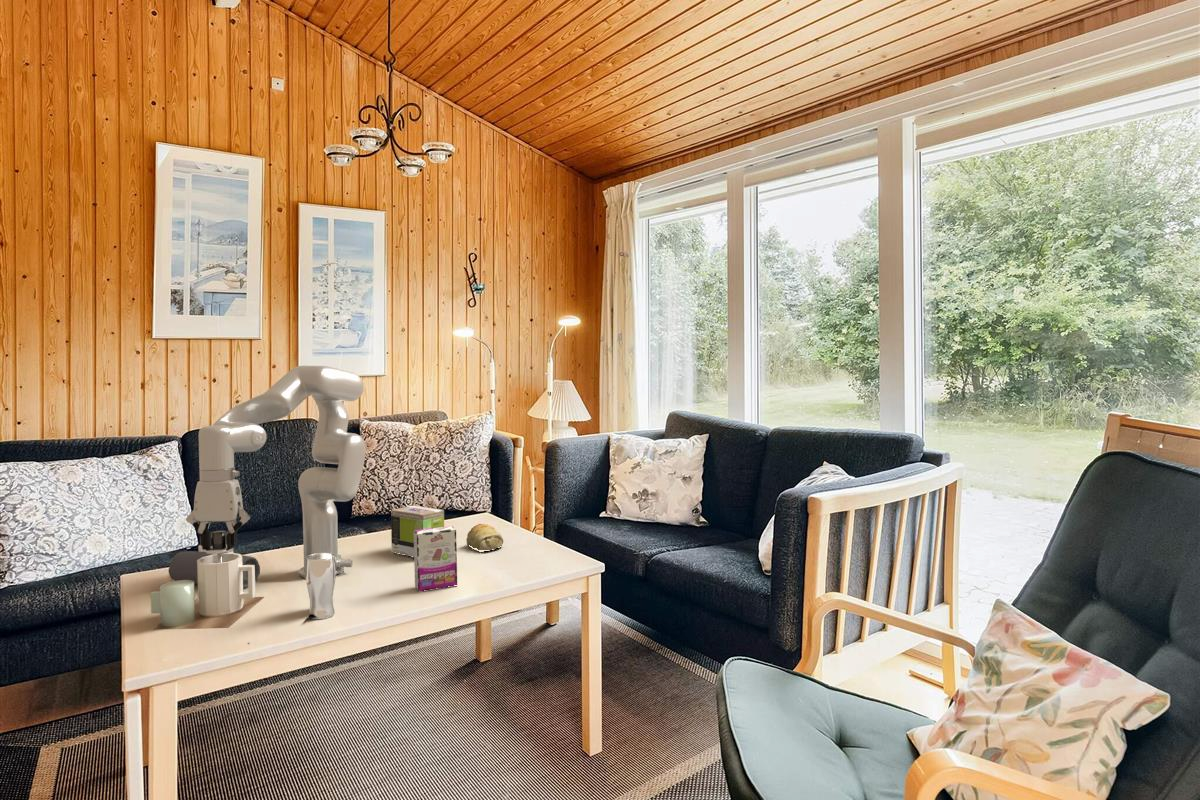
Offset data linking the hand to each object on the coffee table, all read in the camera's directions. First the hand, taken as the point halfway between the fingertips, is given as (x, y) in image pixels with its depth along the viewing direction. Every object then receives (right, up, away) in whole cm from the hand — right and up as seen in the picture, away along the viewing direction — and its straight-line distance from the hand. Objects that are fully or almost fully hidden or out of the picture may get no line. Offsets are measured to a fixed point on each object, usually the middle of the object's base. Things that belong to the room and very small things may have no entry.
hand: (219, 547), depth 173 cm
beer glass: (+25, -17, +1) cm, 31 cm away
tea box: (+35, -14, +56) cm, 67 cm away
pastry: (+55, -14, +64) cm, 86 cm away
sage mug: (-7, -16, -7) cm, 19 cm away
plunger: (0, -13, +1) cm, 13 cm away
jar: (-19, -15, +33) cm, 41 cm away
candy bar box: (+48, -16, +23) cm, 56 cm away
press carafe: (+1, -16, +1) cm, 16 cm away
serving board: (-1, -17, 0) cm, 17 cm away
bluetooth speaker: (-13, -16, +21) cm, 29 cm away
